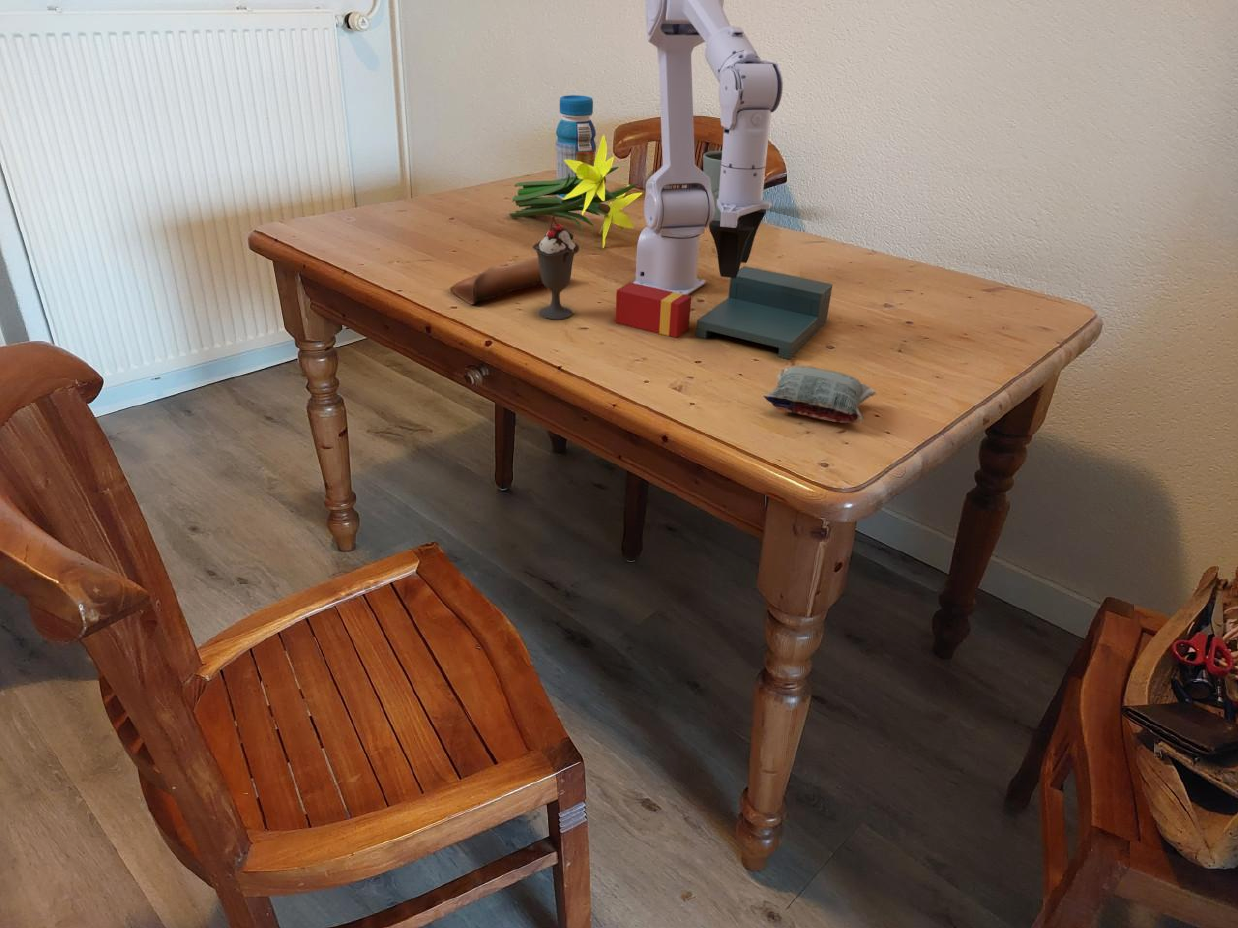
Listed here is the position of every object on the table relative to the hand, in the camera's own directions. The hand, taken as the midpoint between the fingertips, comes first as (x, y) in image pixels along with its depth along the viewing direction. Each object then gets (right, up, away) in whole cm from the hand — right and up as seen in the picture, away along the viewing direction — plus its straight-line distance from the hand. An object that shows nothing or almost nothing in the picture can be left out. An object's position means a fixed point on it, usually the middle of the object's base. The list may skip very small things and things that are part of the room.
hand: (734, 269), depth 119 cm
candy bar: (-11, -7, +8) cm, 15 cm away
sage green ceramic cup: (+6, +24, +59) cm, 64 cm away
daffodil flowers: (-26, +17, +45) cm, 55 cm away
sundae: (-25, -5, +10) cm, 28 cm away
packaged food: (+8, -20, -13) cm, 25 cm away
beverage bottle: (-25, +30, +68) cm, 78 cm away
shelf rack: (+5, -7, +8) cm, 12 cm away
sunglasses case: (-33, +1, +19) cm, 38 cm away
